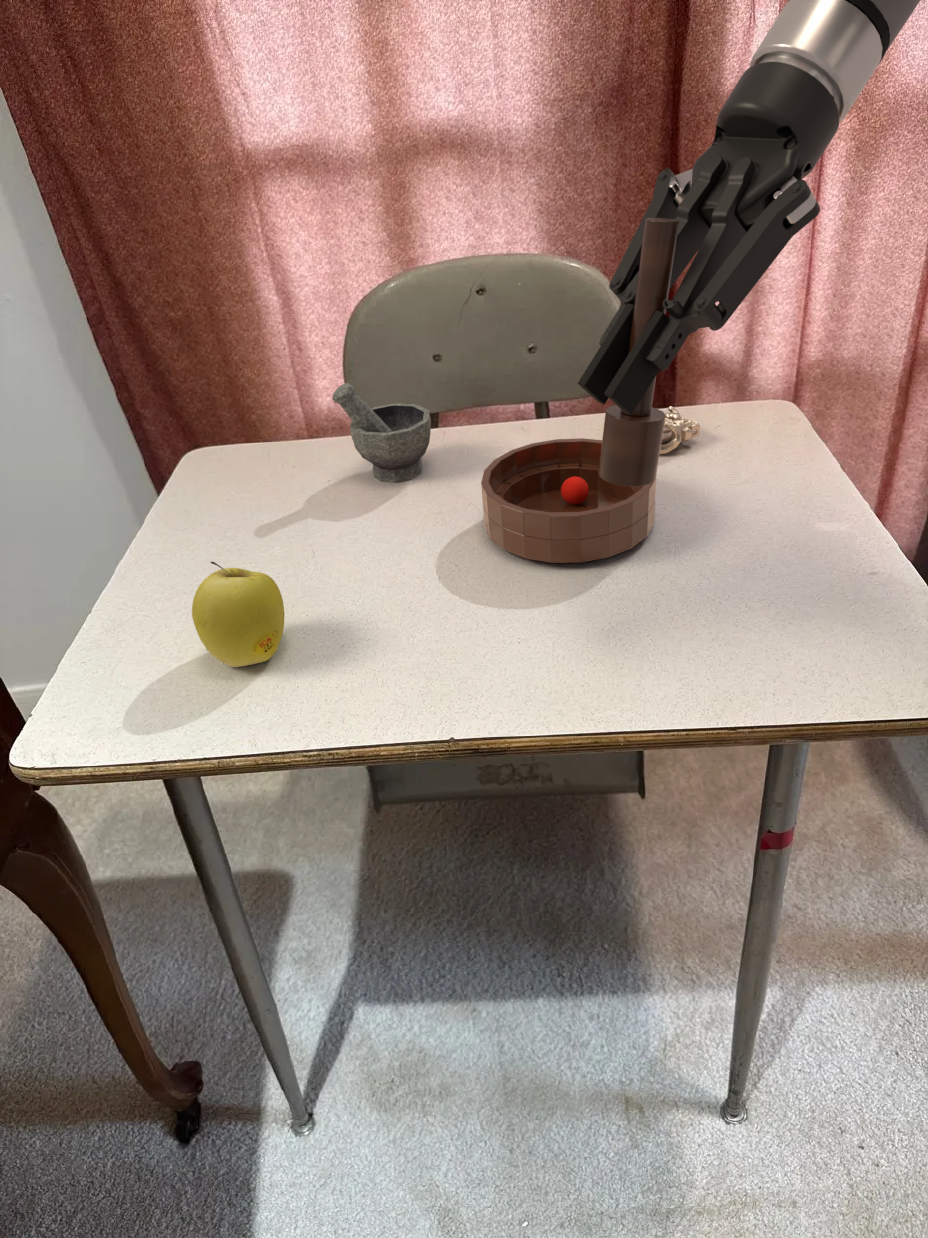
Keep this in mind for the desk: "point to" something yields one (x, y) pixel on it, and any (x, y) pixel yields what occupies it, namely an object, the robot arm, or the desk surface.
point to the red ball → (574, 490)
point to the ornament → (677, 430)
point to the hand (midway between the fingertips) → (604, 398)
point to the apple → (239, 616)
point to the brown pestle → (639, 435)
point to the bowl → (562, 504)
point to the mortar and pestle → (387, 434)
